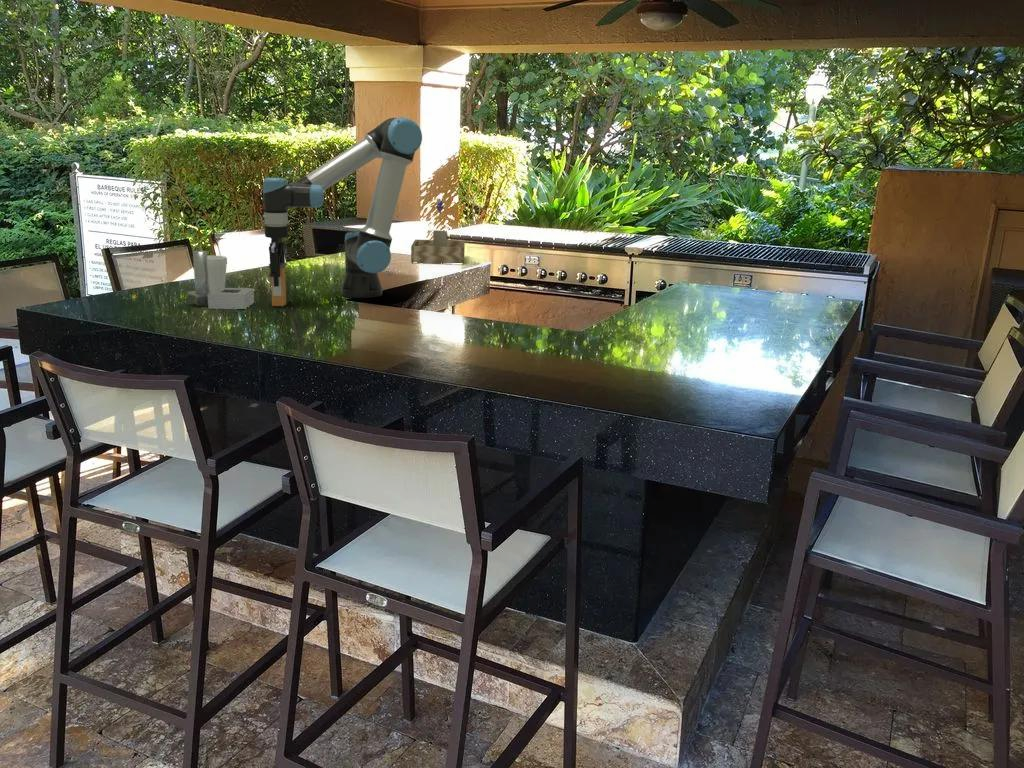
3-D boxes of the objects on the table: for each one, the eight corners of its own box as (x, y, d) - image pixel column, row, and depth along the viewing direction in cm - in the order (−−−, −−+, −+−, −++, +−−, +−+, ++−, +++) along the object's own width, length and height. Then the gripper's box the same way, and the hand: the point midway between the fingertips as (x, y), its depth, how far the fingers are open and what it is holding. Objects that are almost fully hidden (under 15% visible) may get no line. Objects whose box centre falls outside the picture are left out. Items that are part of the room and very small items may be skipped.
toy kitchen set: (466, 260, 419) (466, 228, 415) (455, 264, 403) (456, 232, 399) (430, 257, 423) (430, 226, 419) (418, 261, 408) (419, 229, 403)
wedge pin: (287, 303, 296) (286, 262, 292) (284, 306, 291) (283, 264, 288) (273, 303, 296) (272, 262, 292) (270, 306, 291) (268, 264, 287)
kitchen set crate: (464, 257, 426) (464, 241, 424) (463, 264, 401) (463, 247, 399) (415, 255, 425) (415, 239, 423) (411, 263, 400) (411, 246, 398)
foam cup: (223, 296, 305) (221, 259, 302) (197, 295, 305) (195, 258, 302) (232, 291, 314) (230, 256, 311) (207, 290, 314) (204, 255, 311)
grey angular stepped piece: (262, 296, 307) (260, 246, 302) (245, 309, 284) (242, 255, 279) (204, 295, 306) (201, 244, 301) (182, 307, 283) (178, 253, 278)
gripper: (270, 222, 294) (273, 289, 301) (258, 227, 278) (261, 298, 284) (292, 223, 295) (295, 290, 301) (281, 228, 278) (284, 299, 285)
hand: (278, 294), depth 293 cm, fingers closed on wedge pin, 4 cm apart
